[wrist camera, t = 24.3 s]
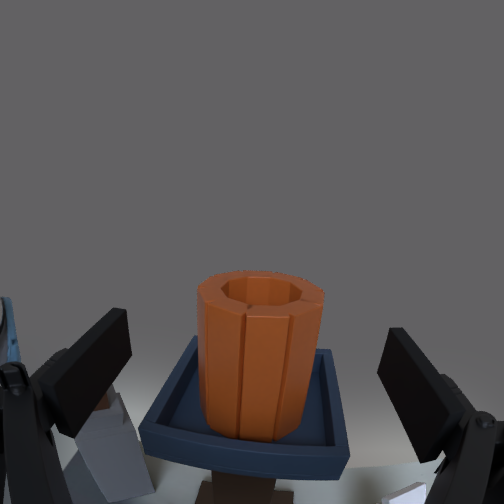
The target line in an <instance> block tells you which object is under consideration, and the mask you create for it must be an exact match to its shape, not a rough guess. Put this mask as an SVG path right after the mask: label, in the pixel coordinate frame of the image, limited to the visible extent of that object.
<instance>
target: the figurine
mask: <svg viewBox="0 0 504 504" xmlns="http://www.w3.org/2000/svg"><path fill="white" fill-rule="evenodd" d="M425 500H426V483H421V482H416V483H414V484H412V485H410V486H408V487H406V488H403V489H401V490H399V491H397V492H394V493H392V494H390V495H387V496H385V497H382V504H424V503H425ZM375 504H379V503H375Z"/></svg>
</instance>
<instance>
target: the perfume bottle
mask: <svg viewBox="0 0 504 504" xmlns="http://www.w3.org/2000/svg"><path fill="white" fill-rule="evenodd" d="M75 443H76V445H77V447H78V449H79V451H80V453H81V455H82V457H83V459H84V461H85V463H86V465H87V467H88V469H89V470H90V472H91V474H92V476H93V478H94V479H95V481H96V483H97V485H98V486H99V488H100V490H101V491H102V493H103V495H104V496H105V498H106V500H107V501H108V503H111V502H116V501H121V500H125V499H130V498H134V497H138V496H142V495H146V494H150V493H154V492H155V491H154V488H153V485H152V482H151V479H150V476H149V473H148V470H147V467H146V464H145V461H144V458H143V455H142V451H141V448H140V444H139V441H138V437H137V434H136V430H135V428H134V426H133V424H132V422H131V419H130V417H129V415H128V412H127V410H126V408H125V406H124V403H123V400H122V398H121V396H120V393H116V392H115V390H114V387H113V384H112V385H111V386H110V387H109V389H108V390H107V392H106V393H105V395H104V396H103V397H102V399H101V400H100V402H99V403H98V405H97V406H96V408H95V409H94V411H93V412H92V414H91V415H90V417H89V418H88V419H87V421H86V422H85V424H84V425H83V427H82V428H81V430H80V431H79V433H78V434H77V436H76V437H75Z"/></svg>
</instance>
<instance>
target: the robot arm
mask: <svg viewBox="0 0 504 504" xmlns="http://www.w3.org/2000/svg"><path fill="white" fill-rule="evenodd" d="M131 356H132V351H131V344H130V337H129V329H128V321H127V311H126V309H119V308H112V309H111V310H110V311H109V312H108V313H107V314H106V315H105V316H104V317H102V318H101V319H100V320H99V321H98V322H97V323H96V324H95V325H94V326H93V327H92V328H90V329H89V330H88V331H87V332H86V333H85V334H84V335H83V336H82V337H81V338H80V339H79V340H78V341H77V342H76V343H75V344H74V345H72V346H71V347H70V348H69V349H66V348H64V349H62V350H60V351H58V352H56V353H55V354H54V355H53V356H52V357H51V358H50V359H49V360H47V361H46V362H45V363H44V365H42V366H41V367H40V368H39V369H38V370H37V371H36V372H35V373H34V374H33V375H32V376H31V377H30V378H29V377H28V374H27V371H26V368H25V365H24V364H22V363H21V356H20V352H19V346H18V341H17V335H16V329H15V323H14V315H13V307H12V301H11V299H10V298H8V297H0V384H1V386H2V387H1V386H0V504H3V498H4V487H5V479H6V472H7V479H8V486H9V492H10V498H11V503H12V504H73V502H72V500H71V497H70V494H69V491H68V488H67V485H66V482H65V478H64V475H63V472H62V468H61V465H60V461H59V457H58V453H57V449H56V445H55V441H54V436H53V433H52V431H51V429H50V428H51V427H52V426H53V425H54V423H55V424H56V427H57V429H58V431H59V433H61V434H64V435H66V436H68V437H71V438H74V439H75V437H76V436H77V434H78V433H79V431H80V430H81V428H82V427H83V425H84V424H85V422H86V421H87V419H88V418H89V417H90V415H91V414H92V412H93V411H94V409H95V408H96V406H97V405H98V403H99V402H100V400H101V399H102V397H103V396H104V395H105V393H106V392H107V390H108V389H109V387H110V386H111V385H112V383H113V382H114V380H115V379H116V377H117V376H118V374H119V373H120V372H121V370H122V369H123V367H124V366H125V365H126V363H127V362H128V360H129V359H130V357H131ZM377 374H378V376H379V377H380V380H381V381H382V384H383V386H384V388H385V390H386V392H387V394H388V396H389V397H390V400H391V402H392V404H393V406H394V408H395V410H396V412H397V414H398V416H399V418H400V420H401V422H402V425H403V427H404V429H405V431H406V433H407V435H408V437H409V440H410V442H411V444H412V446H413V448H414V451H415V453H416V455H417V457H418V459H419V462H420V464H421V463H425V462H429V461H433V460H436V459H437V458H438V456H439V455H440V453H441V451H442V450H443V451H444V453H445V455H446V457H445V458H444V460H443V461H442V462H441V464H440V465H439V467H438V468H437V469H436V471H435V472H434V473H437V472H438V473H437V476H436V478H435V481H434V483H433V485H432V487H431V490H430V492H429V494H428V496H427V498H426V500H425V503H424V504H504V421H496V419H495V418H494V417H493V416H492V415H491V414H489V413H487V412H483V411H476V410H475V408H474V407H473V406H472V404H471V403H470V402H469V400H468V399H467V398H466V396H465V395H464V394H462V391H461V390H460V389H459V388H458V386H457V385H456V384H455V382H454V381H453V380H452V379H451V378H449V377H448V376H446V375H445V374H439V373H438V372H437V370H436V369H435V367H434V366H433V365H432V363H430V361H429V360H428V359H427V357H426V356H425V355H424V353H423V352H422V351H421V350H420V348H419V347H418V346H417V345H416V343H415V342H414V341H413V340H412V339H411V337H410V336H409V335H408V334H407V332H406V331H405V330H404V329H403V328H389V332H388V336H387V340H386V343H385V347H384V351H383V354H382V357H381V361H380V364H379V368H378V371H377Z"/></svg>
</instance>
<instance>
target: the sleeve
mask: <svg viewBox="0 0 504 504" xmlns="http://www.w3.org/2000/svg"><path fill="white" fill-rule="evenodd" d="M323 301H324V292H323V290H322V289H320V288H319V287H317V286H316V285H314V284H312V283H311V282H309V281H308V280H303V279H302V278H300V277H295V276H291V275H287V274H283V273H278V272H275V273H272V272H269V271H246V270H244V271H243V272H241V271H234V272H228V273H222V274H216V275H214V276H211V277H209V278H208V279H207V280H205V281H204V282H203V283H201V284H200V285H199V286H198V289H197V325H198V366H199V391H200V407H201V410H202V413H203V415H204V418H205V421H206V423H207V425H210V428H211V429H212V430H214V431H216V432H218V433H220V434H221V435H223V436H225V437H227V438H230V439H238V438H239V440H244V441H252V442H261V443H271V442H272V439H273V440H274V441H278V440H279V439H281V438H283V437H284V436H286V435H287V434H289V433H291V432H292V431H294V430H296V429H297V428H298V425H300V423H301V419H302V414H303V410H304V406H305V401H306V396H307V392H308V387H309V382H310V377H311V372H312V367H313V362H314V357H315V351H316V346H317V340H318V334H319V329H320V323H321V316H322V310H323Z"/></svg>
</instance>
